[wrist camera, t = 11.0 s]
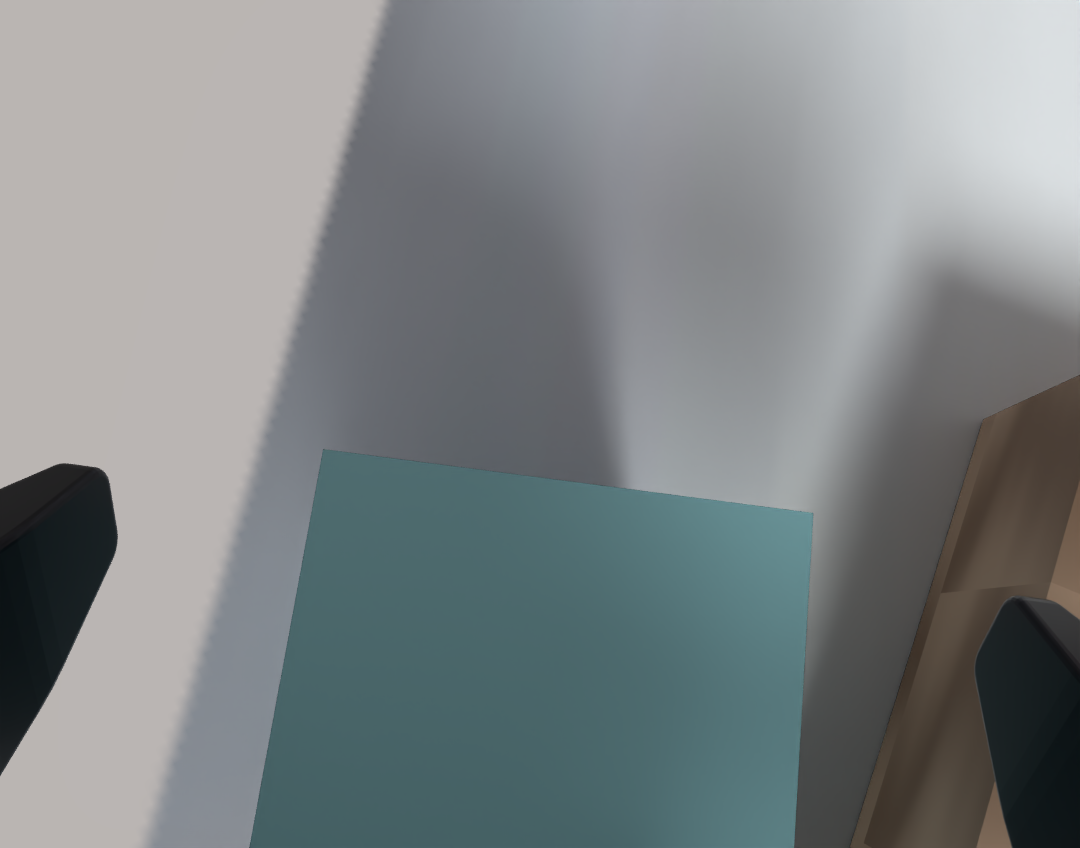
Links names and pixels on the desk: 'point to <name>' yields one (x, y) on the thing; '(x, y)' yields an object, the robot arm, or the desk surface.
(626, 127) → the desk surface
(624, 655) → the plug
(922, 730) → the brown flat block
